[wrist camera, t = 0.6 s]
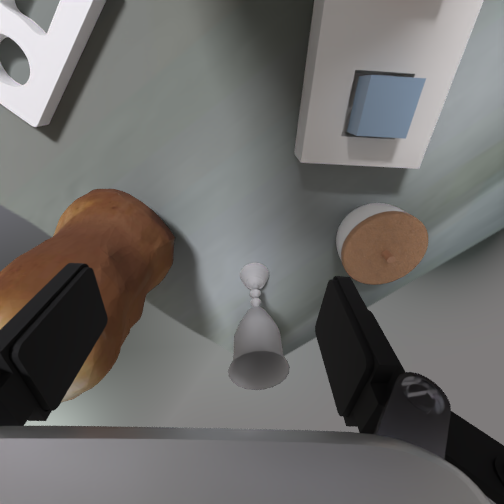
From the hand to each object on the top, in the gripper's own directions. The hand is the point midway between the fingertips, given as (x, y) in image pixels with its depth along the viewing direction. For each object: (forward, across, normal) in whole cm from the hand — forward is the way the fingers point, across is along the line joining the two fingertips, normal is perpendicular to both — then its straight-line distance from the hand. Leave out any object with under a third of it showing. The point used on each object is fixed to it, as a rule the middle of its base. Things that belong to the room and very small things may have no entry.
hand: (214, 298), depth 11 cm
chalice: (+28, -4, +20) cm, 34 cm away
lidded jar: (+28, -20, +9) cm, 35 cm away
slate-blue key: (+23, -14, -7) cm, 28 cm away
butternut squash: (+28, +14, +11) cm, 33 cm away
